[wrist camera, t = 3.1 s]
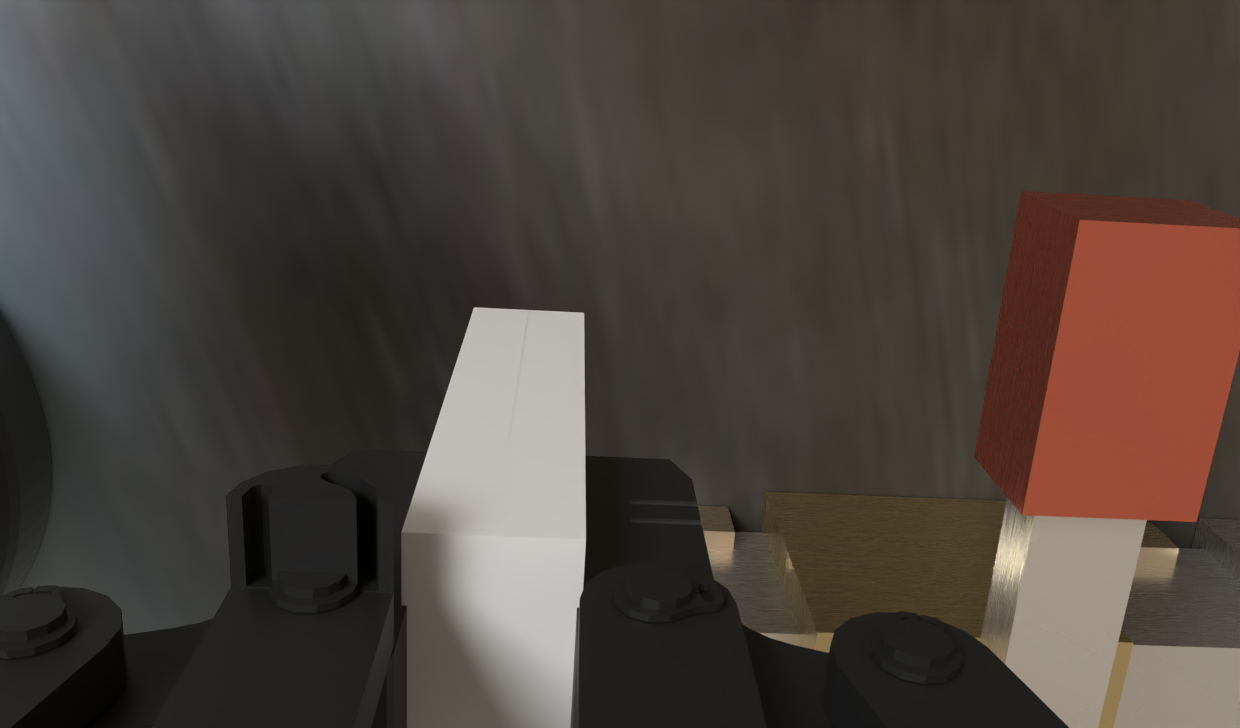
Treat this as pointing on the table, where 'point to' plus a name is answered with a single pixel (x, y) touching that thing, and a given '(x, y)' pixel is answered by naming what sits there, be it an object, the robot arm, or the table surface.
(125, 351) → the table surface
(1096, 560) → the valve lever
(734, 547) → the valve pipe
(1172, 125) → the table surface
